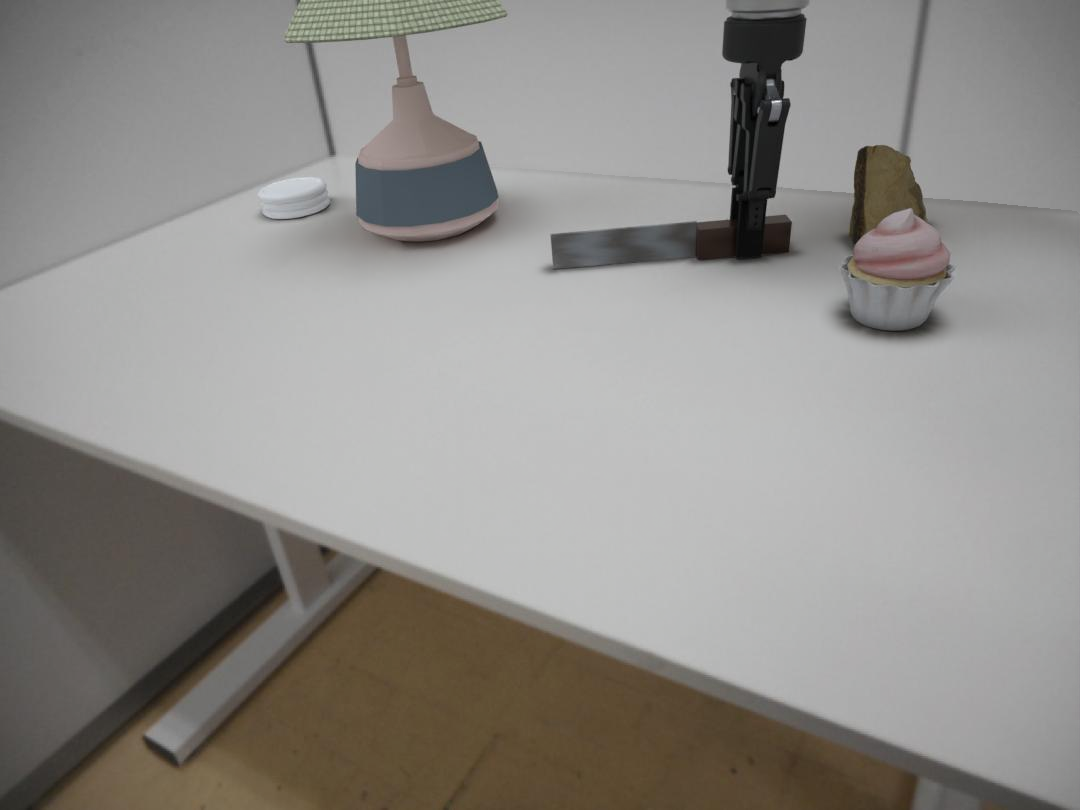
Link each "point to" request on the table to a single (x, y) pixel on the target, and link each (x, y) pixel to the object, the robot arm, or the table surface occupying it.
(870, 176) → the rock
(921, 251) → the cupcake
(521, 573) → the table surface
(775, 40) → the robot arm
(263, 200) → the white layered round disc
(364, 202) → the desk lamp
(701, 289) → the table surface
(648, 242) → the knife
